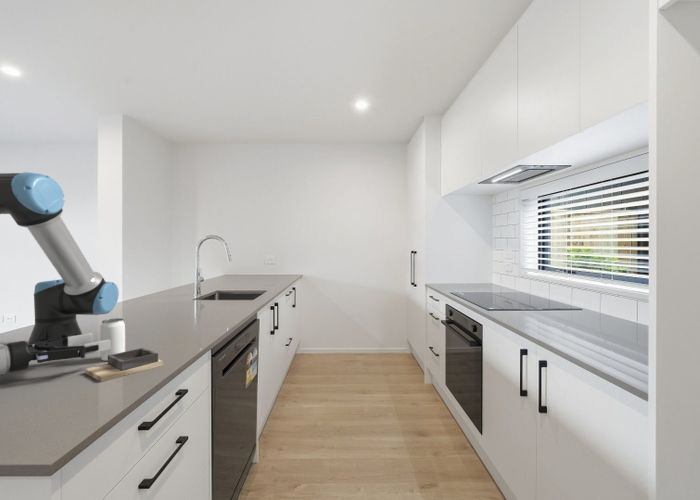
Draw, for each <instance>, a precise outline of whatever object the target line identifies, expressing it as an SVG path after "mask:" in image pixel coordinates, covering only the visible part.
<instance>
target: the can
mask: <svg viewBox="0 0 700 500" xmlns="http://www.w3.org/2000/svg"><path fill="white" fill-rule="evenodd" d="M99 330H100V332H99V334H100V337H99V338H100V340H99V341H104V340H111V349H109V350H104V351H100V360H101V361H103V362H108V355H113V354H117V353H122V352H126V324H125V322H124V318H108V319H104V320H101V324H100V329H99Z"/></svg>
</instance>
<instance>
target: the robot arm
mask: <svg viewBox="0 0 700 500" xmlns="http://www.w3.org/2000/svg"><path fill="white" fill-rule="evenodd" d="M63 198H65V194H64V191H63V188H62V187H61V185H60V184H59V182H57V181H56V180H55V179H54V178H52V177H51V176H49V175H46V174H43V173H36V172H26V171H25V172H15V173H14V172H11V173H10V172H9V173H7V172H4V173H3V172H2V173H1V172H0V215H10V216H11V218H12V220H14V222H15V223H16V225H17V226H19V227H21V228H27V230H28V231H29V233H30V234H31V235H32V237H33V239H34V240H35V241H36V243H37V244H38V245H39V248H40V249H41V250H42V251H43V253H44V254H45V256H46V257H47V259H48V260H49V261H50V262H49V263H51V265H52V266H53V267H54V269H55V271H56V272H57V273H58V275H59V276H60V277H61V279H53V280H45V281H39V282H37V283H36V284H35V285H34V293H33V302H34V304H33V305H34V307H33V309H34V325H33V329H32V331H31V334H30V336H29V337H28V342H27V341H25V340H19V341H14V342H9V343H6V345H5V344H3V343H0V375H3V374H6V373H7V372H8V373H15V372H18V371H25V370H27V369H28V368H29V366H30V362H31V361H37V362H36V363H39V364H41V363H45V362H47V363H48V362H52V361H61V360H70V359H77V358H81V359H85V358H86V355H88V354H92V353H98V352H101V351H104V350H109V349H111V340H104V341H100V340H99V341H94V332H89V333H84V334H83V333H82V330H81V327H80V325H79V323H78V320H77V315H79V316H81V315H83V316H88V315H89V316H99V315H107V314H109V313H110V312H111V311H113V310H114V308H115V307H116V305H117V303H118V300H119V293H120V292H119V287H118V285H117V284H116V283H115V282H113V281H106V280H105V278H104V277H103V275H102V274H101V273H100V272H98V271H94V270H93V268H92V267H91V265H90V263H89V261H88V259H87V258H86V257H85V255H84V253H83V252H82V250H81V249H80V247H79V245H78V244H77V242H76V241H75V239H74V237H73V235H72V234H71V232H70V230H69V229H68V227H67V225H66V224H65V222H64V220H63V219H62V217H61V216H62V214H63V212H64V209H63V208H64V204H65V199H63Z"/></svg>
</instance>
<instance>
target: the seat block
mask: <svg viewBox="0 0 700 500" xmlns="http://www.w3.org/2000/svg"><path fill="white" fill-rule="evenodd" d="M161 366H162V367H163V366H164V361H163V360H162V359H160V358H159V353H158V352H155V351H152V350H150V349H147V348H145V347H141V348H136V349H132V350H125V352H122V353H117V354H113V355H108V361H107V363H104V364H100V365H96V366H91V367H88V368H85V369H84V370H85V374H87V375H88V376H90V377H92V378H94V379H95V380H97V381H99V382H100V383H102V382H105V381H110V380H114V379H117V377H118V378H122V377H125V376H129V375H132V374H136V373H139V372H143V371H146V370H151V369H155V368H158V367H161ZM128 374H129V375H128ZM124 375H125V376H124Z"/></svg>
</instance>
